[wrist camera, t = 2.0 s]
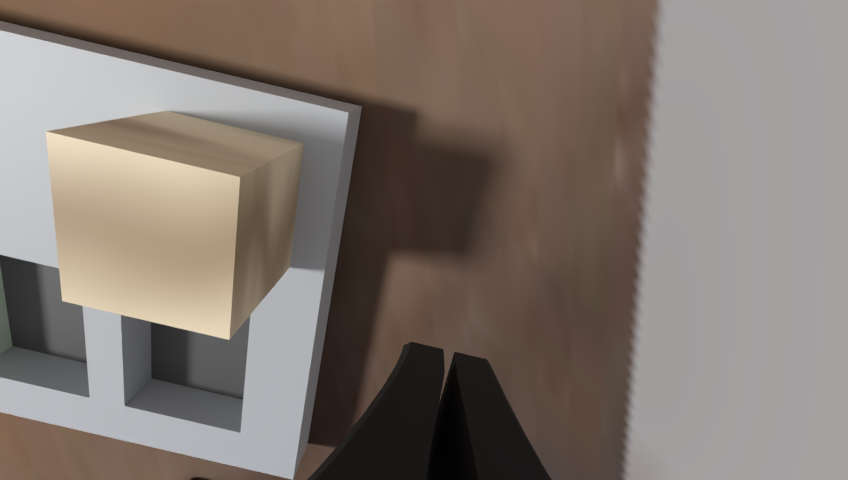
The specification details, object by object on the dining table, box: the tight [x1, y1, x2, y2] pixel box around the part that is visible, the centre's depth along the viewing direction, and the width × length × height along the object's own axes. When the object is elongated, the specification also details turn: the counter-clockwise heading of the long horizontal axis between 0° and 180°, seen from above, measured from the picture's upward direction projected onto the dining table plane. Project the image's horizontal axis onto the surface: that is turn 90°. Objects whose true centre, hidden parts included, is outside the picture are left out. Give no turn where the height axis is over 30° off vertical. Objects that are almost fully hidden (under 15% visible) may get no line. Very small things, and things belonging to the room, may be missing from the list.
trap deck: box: [0, 21, 362, 480], centre depth 18 cm, size 16×21×2 cm
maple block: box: [46, 111, 304, 340], centre depth 13 cm, size 4×4×4 cm
